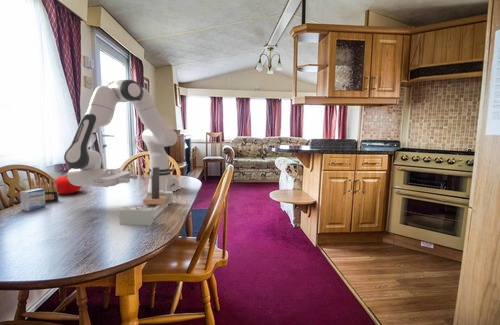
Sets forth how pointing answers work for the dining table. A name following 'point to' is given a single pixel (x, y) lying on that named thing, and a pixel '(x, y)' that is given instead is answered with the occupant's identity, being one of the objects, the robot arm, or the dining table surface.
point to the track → (144, 211)
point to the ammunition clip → (49, 192)
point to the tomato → (66, 186)
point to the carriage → (155, 189)
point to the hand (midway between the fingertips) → (133, 178)
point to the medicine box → (32, 199)
